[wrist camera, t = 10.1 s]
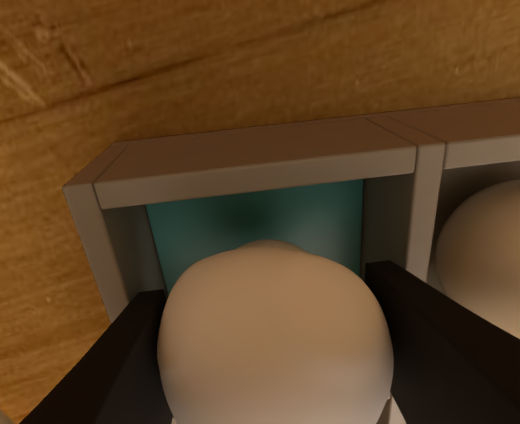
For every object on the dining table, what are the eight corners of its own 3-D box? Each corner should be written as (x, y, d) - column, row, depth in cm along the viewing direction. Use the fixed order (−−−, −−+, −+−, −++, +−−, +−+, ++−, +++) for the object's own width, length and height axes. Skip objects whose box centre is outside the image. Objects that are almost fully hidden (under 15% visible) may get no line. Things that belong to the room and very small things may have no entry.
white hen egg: (379, 235, 10) (510, 397, 5) (298, 354, 12) (345, 552, 7) (214, 166, 9) (201, 302, 4) (150, 311, 10) (92, 520, 6)
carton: (220, 530, 19) (219, 623, 16) (112, 141, 10) (59, 187, 7) (479, 490, 20) (526, 573, 17) (612, 86, 10) (778, 104, 7)
